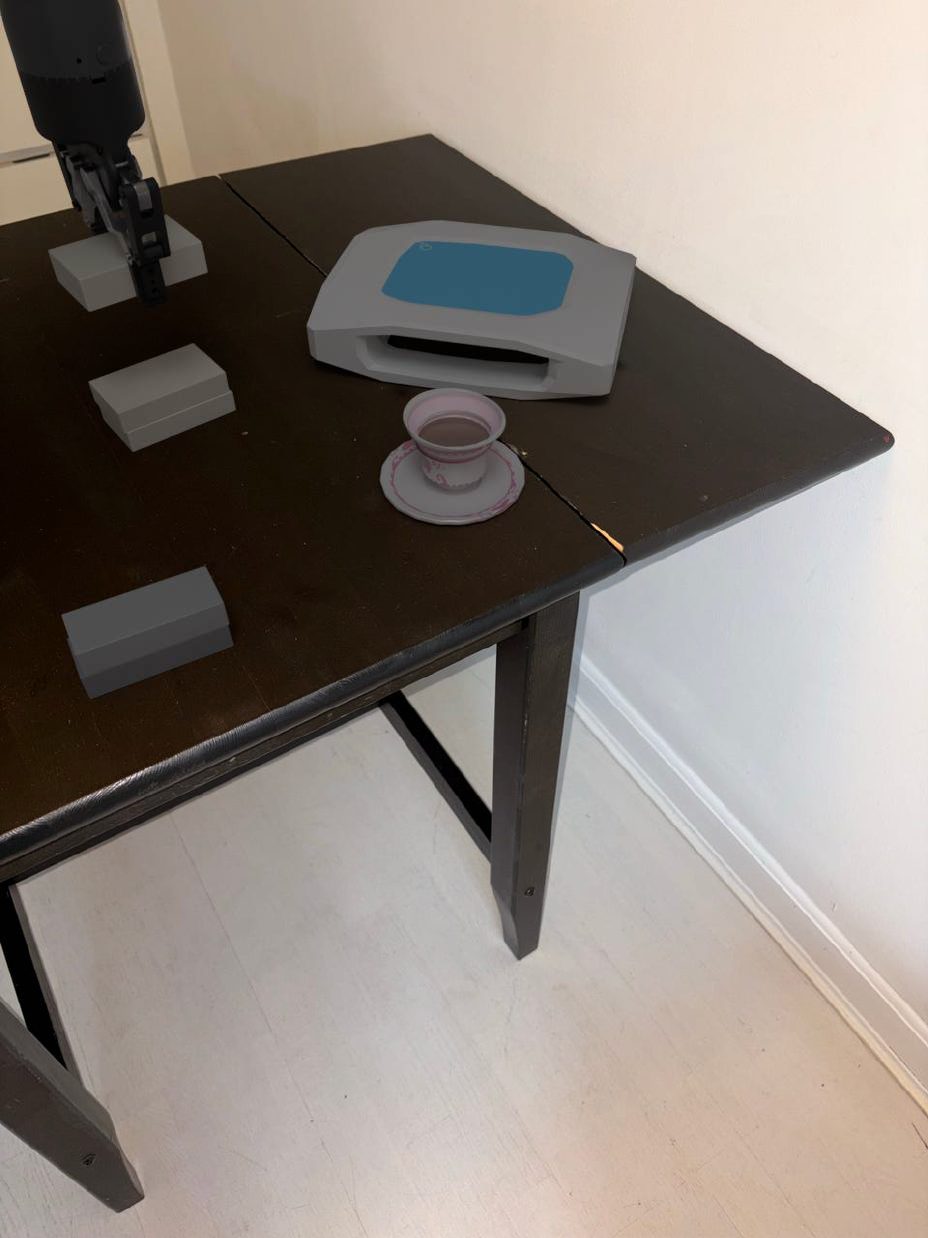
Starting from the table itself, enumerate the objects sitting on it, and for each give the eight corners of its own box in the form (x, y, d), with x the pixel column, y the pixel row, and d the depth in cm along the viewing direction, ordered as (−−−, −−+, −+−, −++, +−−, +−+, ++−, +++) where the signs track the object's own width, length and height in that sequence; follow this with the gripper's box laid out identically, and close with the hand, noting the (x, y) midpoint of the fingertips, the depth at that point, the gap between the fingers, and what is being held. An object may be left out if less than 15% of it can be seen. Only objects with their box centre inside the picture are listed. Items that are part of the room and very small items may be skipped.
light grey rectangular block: (89, 312, 72) (78, 279, 70) (58, 281, 75) (47, 249, 73) (208, 272, 76) (201, 240, 74) (173, 244, 79) (166, 213, 77)
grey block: (130, 453, 81) (118, 414, 78) (101, 420, 85) (88, 381, 82) (236, 410, 86) (228, 371, 83) (204, 380, 89) (195, 342, 86)
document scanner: (606, 412, 85) (614, 351, 81) (310, 373, 90) (301, 312, 85) (631, 297, 99) (639, 238, 95) (374, 267, 104) (369, 210, 99)
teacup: (554, 481, 79) (560, 419, 74) (448, 549, 73) (447, 486, 69) (456, 419, 85) (455, 358, 80) (350, 477, 79) (343, 415, 75)
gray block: (90, 699, 63) (70, 657, 60) (76, 659, 66) (56, 616, 62) (235, 645, 66) (223, 602, 63) (217, 609, 69) (205, 565, 66)
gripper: (-21, 36, 66) (55, 267, 78) (60, 96, 58) (131, 340, 71) (82, 16, 69) (140, 240, 81) (172, 70, 61) (221, 308, 74)
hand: (135, 286), depth 76 cm, fingers closed on light grey rectangular block, 6 cm apart
